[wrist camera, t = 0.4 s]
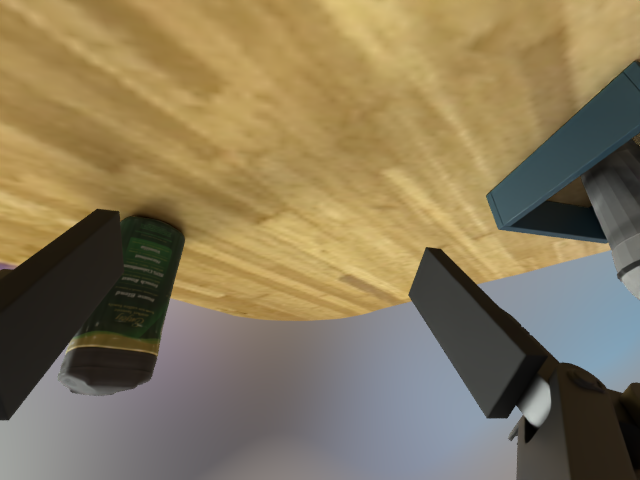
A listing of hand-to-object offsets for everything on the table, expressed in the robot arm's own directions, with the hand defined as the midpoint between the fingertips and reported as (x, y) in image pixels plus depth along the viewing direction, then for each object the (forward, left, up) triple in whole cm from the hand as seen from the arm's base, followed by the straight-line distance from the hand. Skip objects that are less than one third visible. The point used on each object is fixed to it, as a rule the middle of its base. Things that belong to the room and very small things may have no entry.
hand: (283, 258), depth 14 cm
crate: (+2, +31, -15) cm, 35 cm away
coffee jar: (+26, -14, -16) cm, 34 cm away
